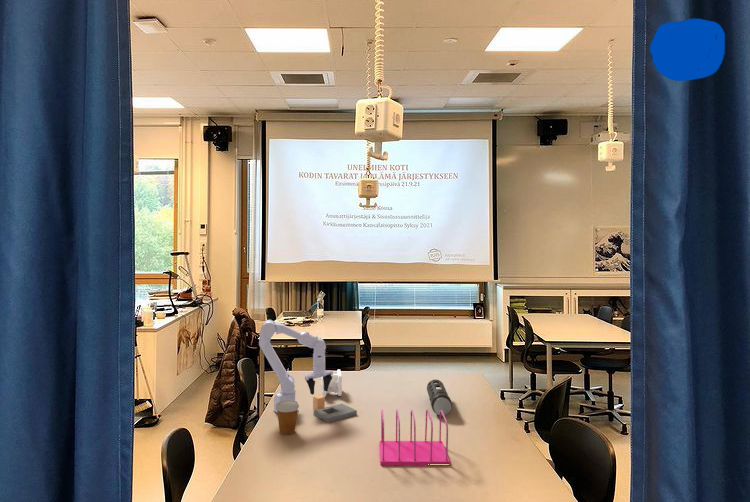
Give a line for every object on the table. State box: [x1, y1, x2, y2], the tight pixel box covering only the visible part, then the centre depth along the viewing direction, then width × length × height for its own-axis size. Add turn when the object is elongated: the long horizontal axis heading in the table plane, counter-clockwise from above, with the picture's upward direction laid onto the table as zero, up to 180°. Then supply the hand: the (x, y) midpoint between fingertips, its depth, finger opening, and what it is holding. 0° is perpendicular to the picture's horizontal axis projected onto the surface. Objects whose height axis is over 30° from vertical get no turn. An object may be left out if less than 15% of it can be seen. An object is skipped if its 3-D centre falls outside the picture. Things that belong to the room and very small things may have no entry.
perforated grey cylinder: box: [426, 379, 453, 417], centre depth 227 cm, size 10×28×10 cm, turn 179°
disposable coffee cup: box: [276, 400, 299, 436], centre depth 197 cm, size 10×10×12 cm
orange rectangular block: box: [312, 394, 326, 411], centre depth 224 cm, size 4×4×6 cm
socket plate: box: [313, 403, 358, 424], centre depth 217 cm, size 16×12×2 cm
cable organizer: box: [320, 369, 343, 397], centre depth 246 cm, size 15×11×12 cm
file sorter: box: [378, 408, 451, 467], centre depth 176 cm, size 17×25×16 cm
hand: (319, 392), depth 224 cm, fingers open, 7 cm apart
